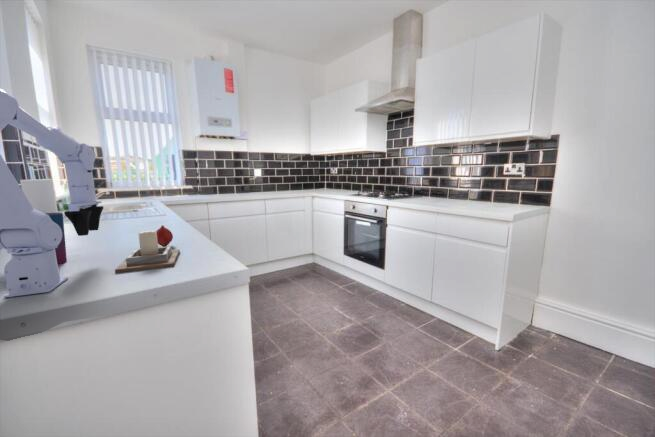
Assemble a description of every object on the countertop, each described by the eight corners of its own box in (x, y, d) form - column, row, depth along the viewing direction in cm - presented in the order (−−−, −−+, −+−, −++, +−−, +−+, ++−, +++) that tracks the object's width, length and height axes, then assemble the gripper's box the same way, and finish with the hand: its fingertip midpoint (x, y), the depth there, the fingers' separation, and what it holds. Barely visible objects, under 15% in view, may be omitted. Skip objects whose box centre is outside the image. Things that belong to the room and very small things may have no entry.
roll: (157, 259, 86) (154, 232, 85) (139, 261, 85) (136, 234, 83) (160, 255, 90) (157, 230, 89) (144, 257, 89) (140, 231, 88)
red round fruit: (151, 247, 103) (149, 226, 102) (167, 244, 109) (164, 223, 107) (161, 249, 101) (159, 227, 100) (177, 245, 106) (174, 224, 105)
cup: (76, 259, 90) (68, 212, 88) (54, 266, 84) (45, 215, 81) (57, 259, 91) (48, 212, 89) (33, 266, 84) (23, 215, 82)
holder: (173, 266, 83) (172, 256, 82) (115, 273, 78) (113, 262, 77) (179, 252, 98) (178, 243, 97) (131, 256, 93) (130, 247, 92)
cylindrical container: (46, 260, 90) (31, 179, 86) (28, 259, 91) (13, 180, 87) (70, 254, 97) (58, 179, 93) (54, 253, 98) (40, 179, 94)
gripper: (88, 187, 78) (95, 236, 80) (107, 184, 91) (113, 227, 93) (55, 188, 75) (63, 238, 77) (79, 185, 89) (86, 229, 91)
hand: (88, 232), depth 85 cm, fingers open, 7 cm apart
